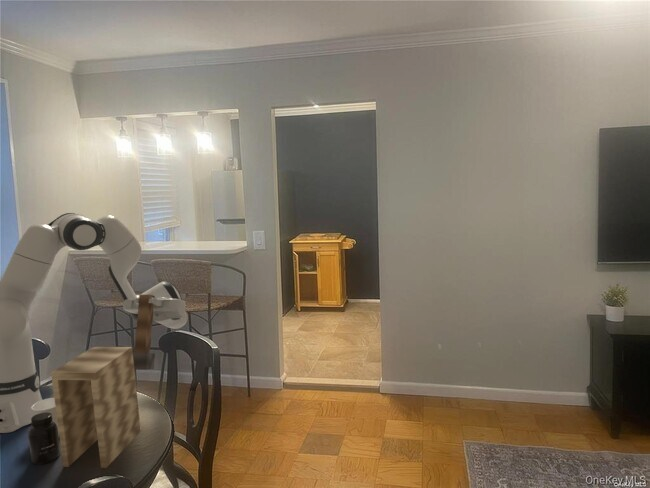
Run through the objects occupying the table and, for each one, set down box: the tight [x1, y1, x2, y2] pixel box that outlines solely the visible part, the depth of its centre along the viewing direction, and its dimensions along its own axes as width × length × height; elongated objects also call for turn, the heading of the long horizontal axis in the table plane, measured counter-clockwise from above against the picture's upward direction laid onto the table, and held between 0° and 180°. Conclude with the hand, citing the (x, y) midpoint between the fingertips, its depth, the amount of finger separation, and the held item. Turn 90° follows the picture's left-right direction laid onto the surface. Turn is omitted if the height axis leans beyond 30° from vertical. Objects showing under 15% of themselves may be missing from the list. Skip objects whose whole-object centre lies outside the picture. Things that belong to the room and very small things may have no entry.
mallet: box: [133, 294, 156, 371], centre depth 154 cm, size 24×7×5 cm
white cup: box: [31, 397, 59, 436], centre depth 138 cm, size 8×8×10 cm
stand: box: [50, 346, 142, 469], centre depth 129 cm, size 18×12×26 cm, turn 174°
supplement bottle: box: [27, 412, 61, 465], centre depth 127 cm, size 7×7×12 cm
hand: (143, 300), depth 155 cm, fingers closed on mallet, 3 cm apart
